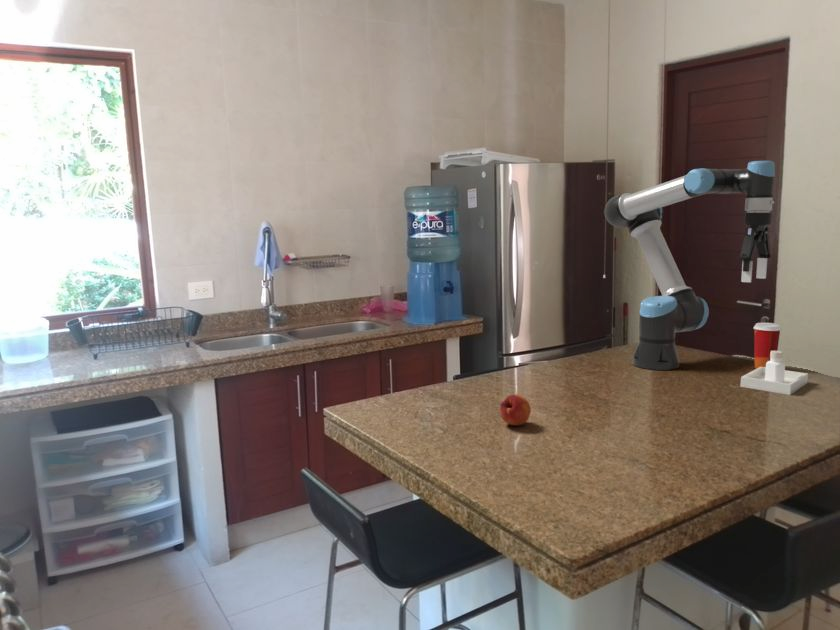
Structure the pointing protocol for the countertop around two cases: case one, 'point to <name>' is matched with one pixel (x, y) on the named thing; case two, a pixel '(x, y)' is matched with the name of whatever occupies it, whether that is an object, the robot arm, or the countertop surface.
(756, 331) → the coffee cup
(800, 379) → the bin
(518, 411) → the fruit
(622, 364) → the countertop surface
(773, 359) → the salt shaker
